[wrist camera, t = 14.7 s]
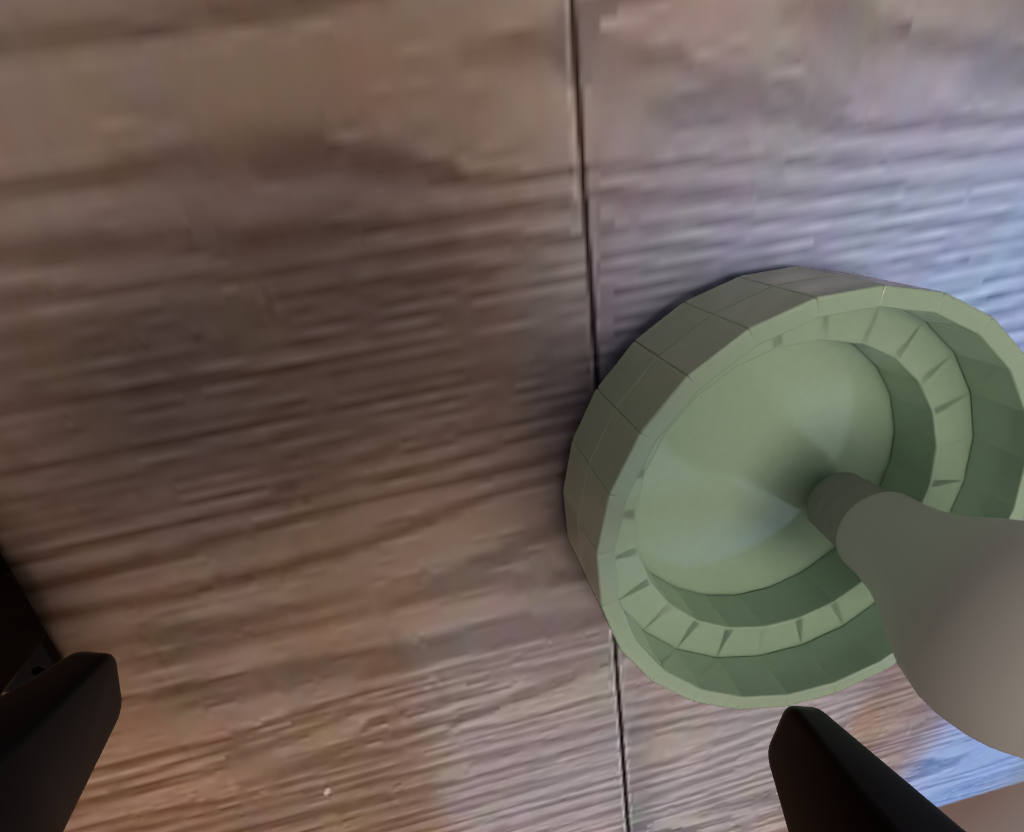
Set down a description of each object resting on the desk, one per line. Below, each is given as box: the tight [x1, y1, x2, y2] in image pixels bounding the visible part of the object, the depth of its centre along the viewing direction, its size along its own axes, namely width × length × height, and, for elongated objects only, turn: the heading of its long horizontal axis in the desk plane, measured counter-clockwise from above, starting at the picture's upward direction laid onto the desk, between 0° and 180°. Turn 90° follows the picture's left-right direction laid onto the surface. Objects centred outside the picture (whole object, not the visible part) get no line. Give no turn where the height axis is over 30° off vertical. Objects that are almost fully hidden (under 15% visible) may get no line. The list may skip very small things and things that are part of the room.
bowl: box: [563, 266, 1024, 709], centre depth 21 cm, size 15×15×4 cm
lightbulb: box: [807, 472, 1024, 759], centre depth 18 cm, size 6×6×11 cm
